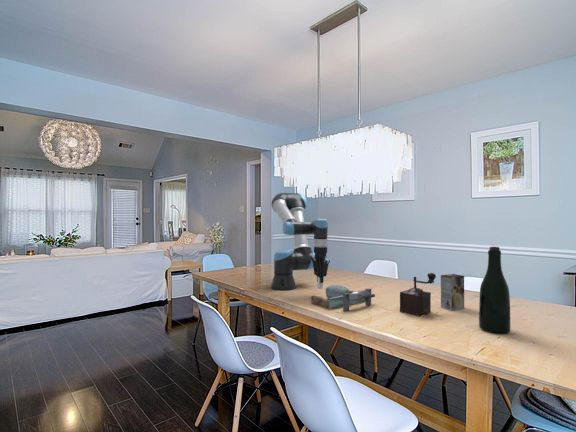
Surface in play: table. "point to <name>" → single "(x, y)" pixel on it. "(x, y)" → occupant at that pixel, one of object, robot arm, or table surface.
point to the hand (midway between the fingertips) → (320, 288)
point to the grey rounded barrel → (335, 291)
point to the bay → (333, 301)
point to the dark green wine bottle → (494, 297)
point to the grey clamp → (355, 296)
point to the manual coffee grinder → (416, 299)
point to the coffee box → (452, 292)
